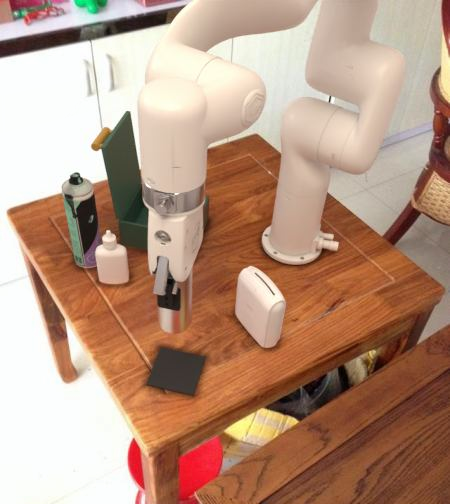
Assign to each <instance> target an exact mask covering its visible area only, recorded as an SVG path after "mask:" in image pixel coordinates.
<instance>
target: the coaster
mask: <svg viewBox="0 0 450 504" xmlns="http://www.w3.org/2000/svg"><path fill="white" fill-rule="evenodd" d="M206 358H207V357H206V356H205V355H200V354H196V353H191V352H187V351H182V350H178V349H174V348H169V347H163V346H160V347H159V350H158V353H157V356H156V358H155V361H154V363H153V366H152V368H151V371H150V373H149V376H148V377H147V381H146V382H145V383H146V384H145V386H149V387H153V388H157V389H161V390H166V391H169V392H174V393H179V394H182V395H187V396H191V397H194V396H195V393H196V390H197V387H198V383H199V379H200V376H201V373H202V371H203V368H204V365H205V361H206Z"/></svg>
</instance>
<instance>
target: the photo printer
mask: <svg viewBox="0 0 450 504" xmlns="http://www.w3.org/2000/svg"><path fill="white" fill-rule="evenodd" d="M235 295H236V297H235V305H234V314H235V316H236V318H237V319H238V321H239V322H240V324H241V325H242V326H243V328H244V329H245V330H246V331H247V333H248V334H249V335H250V336H251V337H252V339H254V340H255V342H256V343H257V344H258V345H259V346H260V347H261V348H265V349H269V348H270V349H271V348H273V347H275V346H276V345H277V344H278V341H279V340H281V334H282V329H283V323H284V318H285V317H284V316H285V313H286V308H287V301H286V299H285V297H284V295H283V293H282V292H281V290H280V289H279V287H278V286H277V285H276V283H275V282H273V280H272V279H271V278H270V277H269V276H268V275H266V273H265V272H263V271H262V270H260V269H259V268H258V267H255V266H253V265H249V266H248V267H244V268H242V270H241V271H240V272H239V274H238V277H237V285H236V294H235Z"/></svg>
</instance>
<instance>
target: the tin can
mask: <svg viewBox="0 0 450 504" xmlns="http://www.w3.org/2000/svg"><path fill="white" fill-rule="evenodd" d="M193 267H194V265H193V266H192V269H191V271H190V274H189V276H188V278H187V279H186V280H185V281H183V282H179V286H178V288H179V289H181V308H180V310H179V311H174V310H170V309H165V308H160V307H158V305H156V307H157V324H158V326H159V328H160V329H161V330H162V331H163V332H165V333H167V334H173V335H175V334H181V333H184V332H186V331H187V330H188V329H189V328H190V327H191V325H192V321H193V320H192V318H193V317H192V316H193V314H192V313H193V277H194V276H193V275H194V274H193V272H194V270H193ZM167 283H168V284H173V278H171V277H167Z"/></svg>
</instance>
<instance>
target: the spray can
mask: <svg viewBox="0 0 450 504" xmlns="http://www.w3.org/2000/svg"><path fill="white" fill-rule="evenodd" d="M61 196H62V201H63V207H64V209H65V210H64V211H65V215H66V221H67V227H68V231H69V236H70V242H71V247H72V253H73V258H74V263H75V264H76V265H77V266H78V267H81V268H84V269H92V268H97V263H96V256H95V252H96V248H97V247H98V246H100V245H102V244H103V243H102V237H101V230H100V224H99V217H98V210H97V203H96V202H97V201H96V195H95V189H94V185H93V183H92V181H91V180H89V179H87V178H85V177H82V176H81V174H80V172H78V171H77V172H76V171H75V172H73V173H72V174H70V175H69V179H66V180H64V182H63V183H62V185H61Z"/></svg>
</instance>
